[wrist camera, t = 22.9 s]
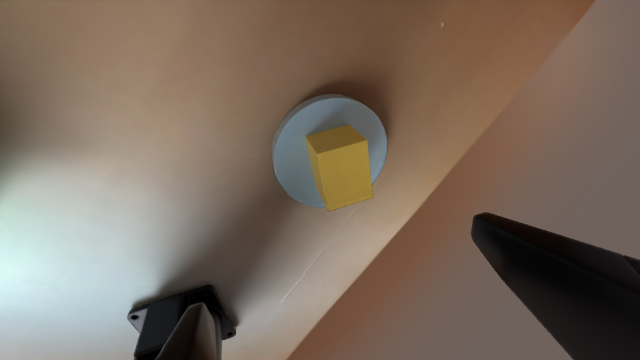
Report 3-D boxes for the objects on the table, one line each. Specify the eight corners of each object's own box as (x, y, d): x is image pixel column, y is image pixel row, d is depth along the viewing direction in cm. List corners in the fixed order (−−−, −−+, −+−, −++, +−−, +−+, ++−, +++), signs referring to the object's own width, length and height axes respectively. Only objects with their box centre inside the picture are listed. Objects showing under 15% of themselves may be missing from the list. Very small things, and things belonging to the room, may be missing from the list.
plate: (383, 182, 24) (390, 189, 23) (286, 212, 22) (289, 221, 21) (375, 80, 20) (383, 84, 18) (256, 110, 18) (258, 116, 17)
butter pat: (356, 176, 21) (373, 197, 19) (316, 188, 21) (328, 211, 18) (349, 124, 19) (367, 139, 17) (304, 135, 19) (316, 154, 16)
